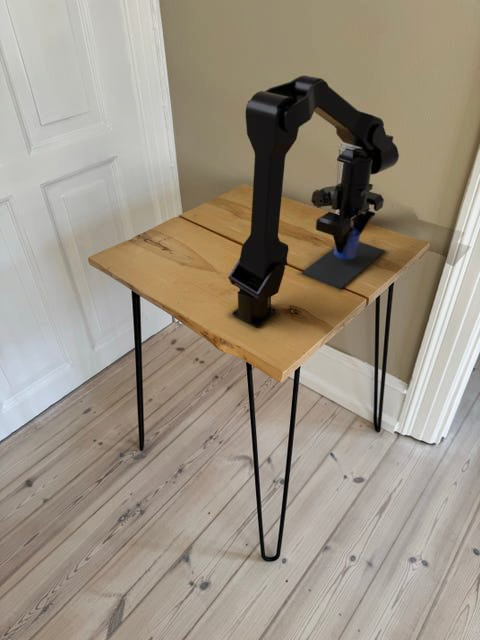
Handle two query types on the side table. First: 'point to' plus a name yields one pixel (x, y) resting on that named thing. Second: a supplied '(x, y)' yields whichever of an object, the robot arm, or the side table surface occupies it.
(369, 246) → the mat
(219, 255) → the side table surface
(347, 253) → the flask
